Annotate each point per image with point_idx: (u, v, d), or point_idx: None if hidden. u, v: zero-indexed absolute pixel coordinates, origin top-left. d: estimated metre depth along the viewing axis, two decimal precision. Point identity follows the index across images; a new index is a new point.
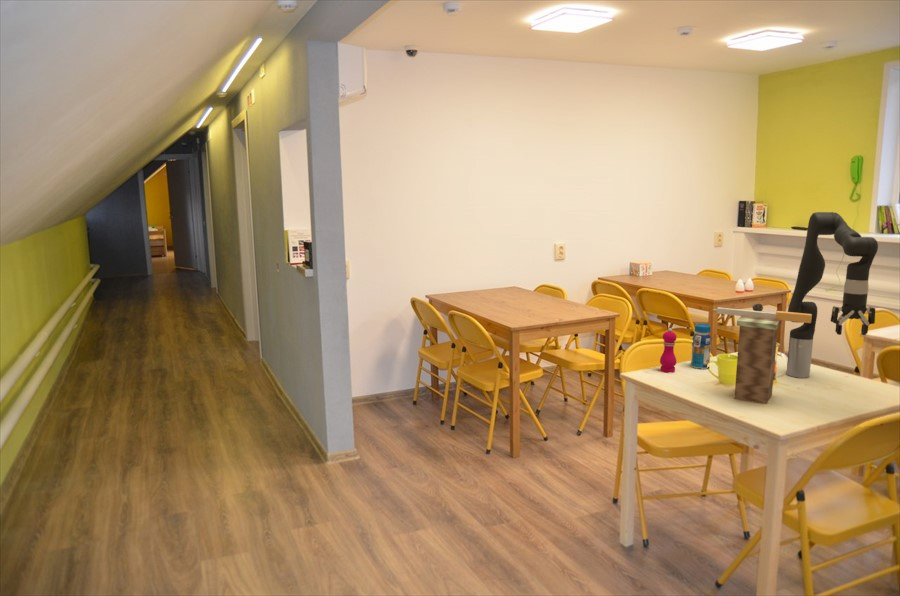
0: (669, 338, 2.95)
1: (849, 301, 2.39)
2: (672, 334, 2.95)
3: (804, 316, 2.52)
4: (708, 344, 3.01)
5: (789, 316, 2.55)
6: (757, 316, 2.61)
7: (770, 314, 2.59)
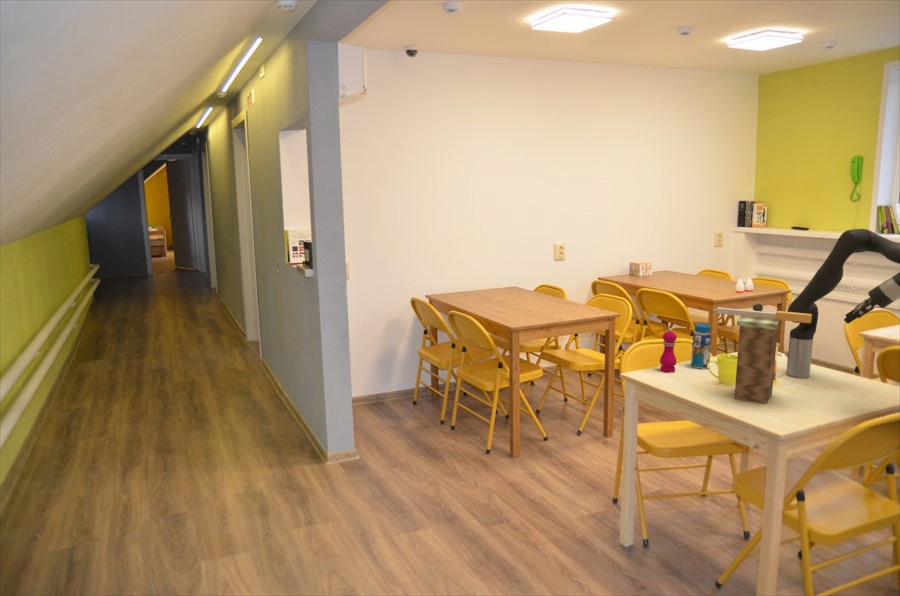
0: (669, 338, 2.95)
1: (883, 304, 2.36)
2: (672, 334, 2.95)
3: (804, 316, 2.52)
4: (708, 344, 3.01)
5: (789, 316, 2.55)
6: (757, 316, 2.61)
7: (770, 314, 2.59)
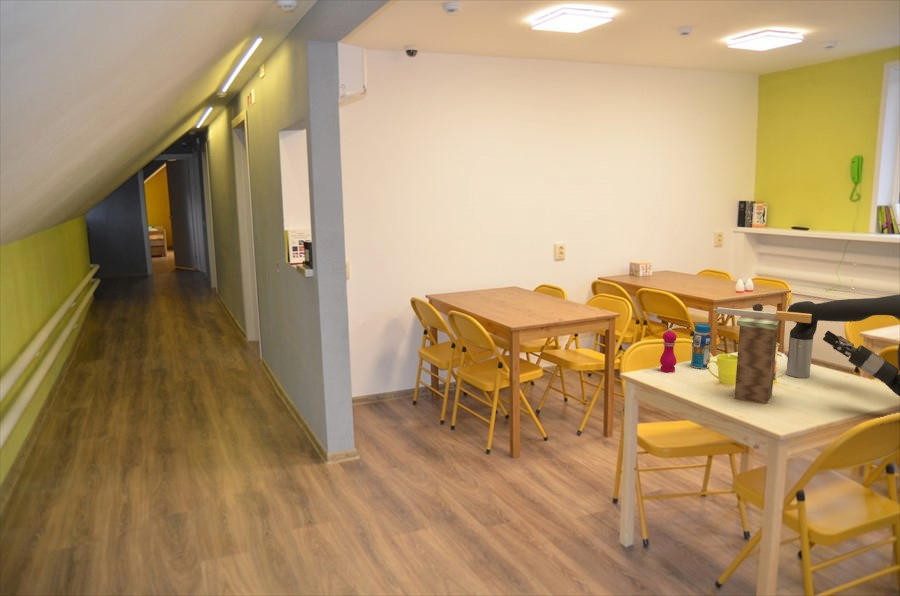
0: (669, 338, 2.95)
1: (853, 361, 2.44)
2: (672, 334, 2.95)
3: (804, 316, 2.52)
4: (708, 344, 3.01)
5: (789, 316, 2.55)
6: (757, 316, 2.61)
7: (770, 314, 2.59)
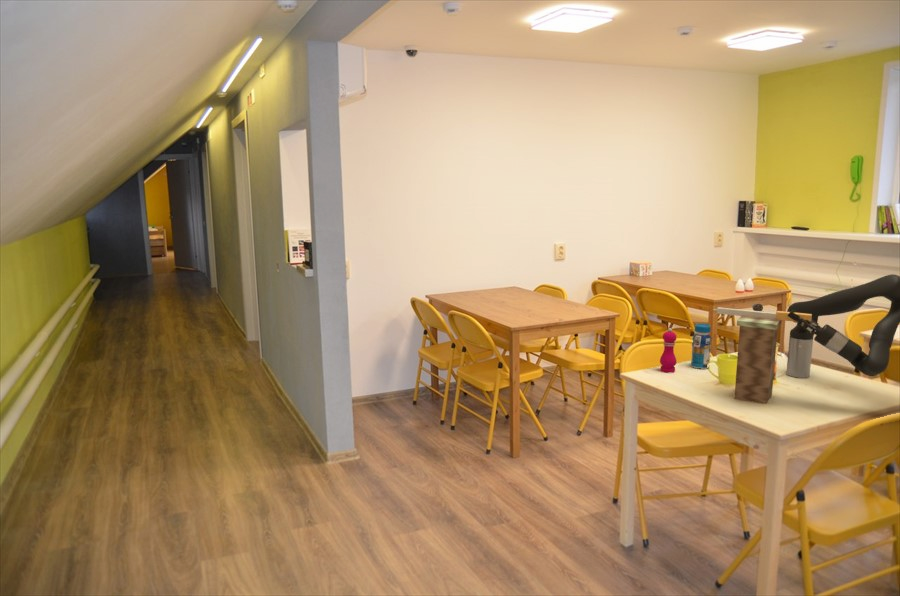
0: (669, 338, 2.95)
1: (818, 340, 2.49)
2: (672, 334, 2.95)
3: (804, 316, 2.52)
4: (708, 344, 3.01)
5: None
6: (757, 316, 2.61)
7: (770, 314, 2.59)
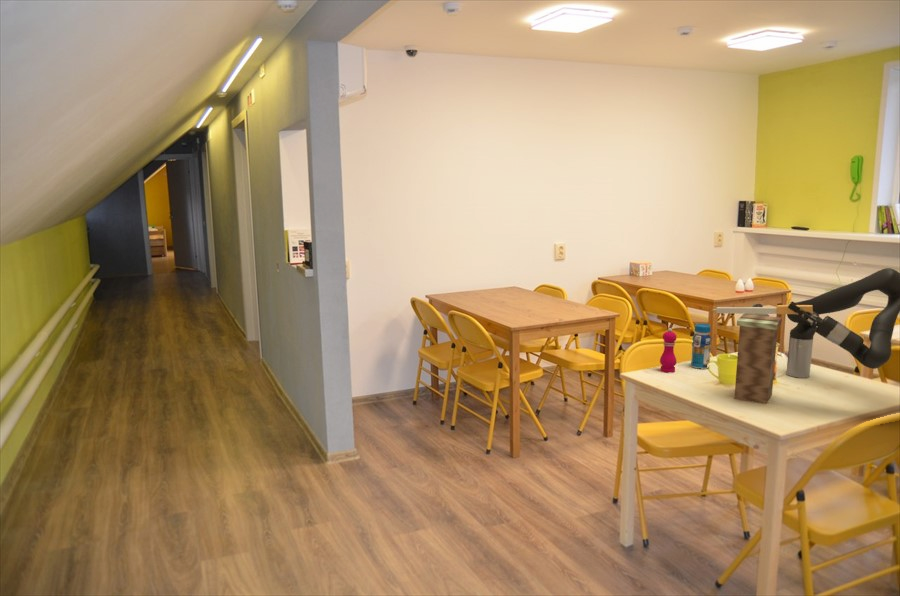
0: (669, 338, 2.95)
1: (819, 331, 2.45)
2: (672, 334, 2.95)
3: (805, 308, 2.48)
4: (708, 344, 3.01)
5: (790, 309, 2.51)
6: (757, 312, 2.57)
7: (770, 309, 2.55)
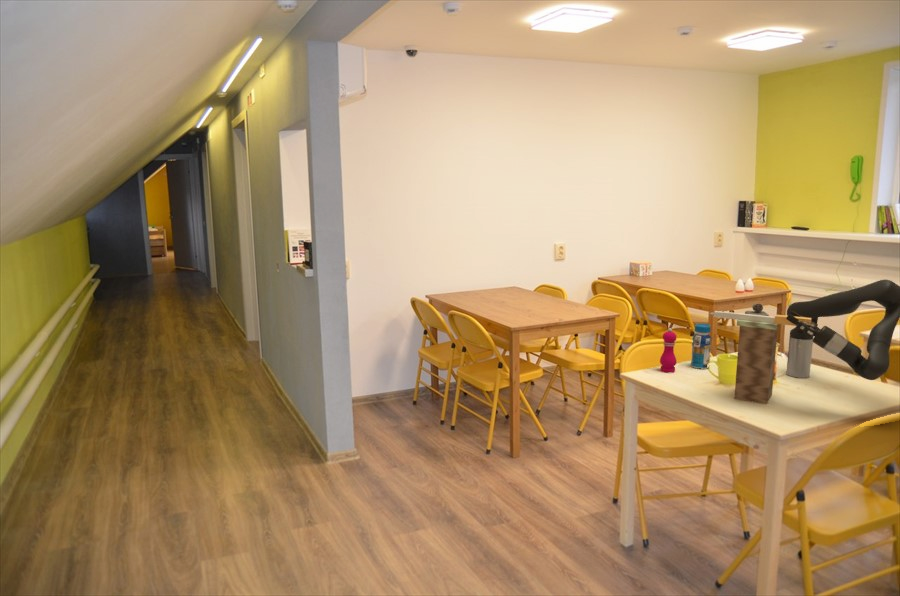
0: (669, 338, 2.95)
1: (817, 342, 2.42)
2: (672, 334, 2.95)
3: (803, 320, 2.45)
4: (708, 344, 3.01)
5: None
6: (755, 320, 2.54)
7: (768, 318, 2.52)
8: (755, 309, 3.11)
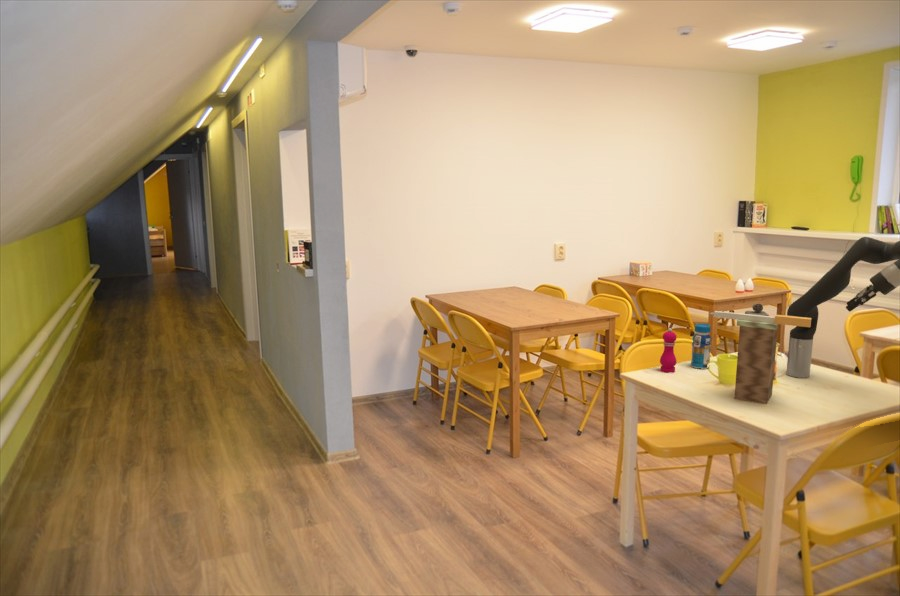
0: (669, 338, 2.95)
1: (885, 291, 2.30)
2: (672, 334, 2.95)
3: (803, 320, 2.45)
4: (708, 344, 3.01)
5: (788, 320, 2.48)
6: (755, 320, 2.54)
7: (768, 318, 2.52)
8: (755, 309, 3.11)
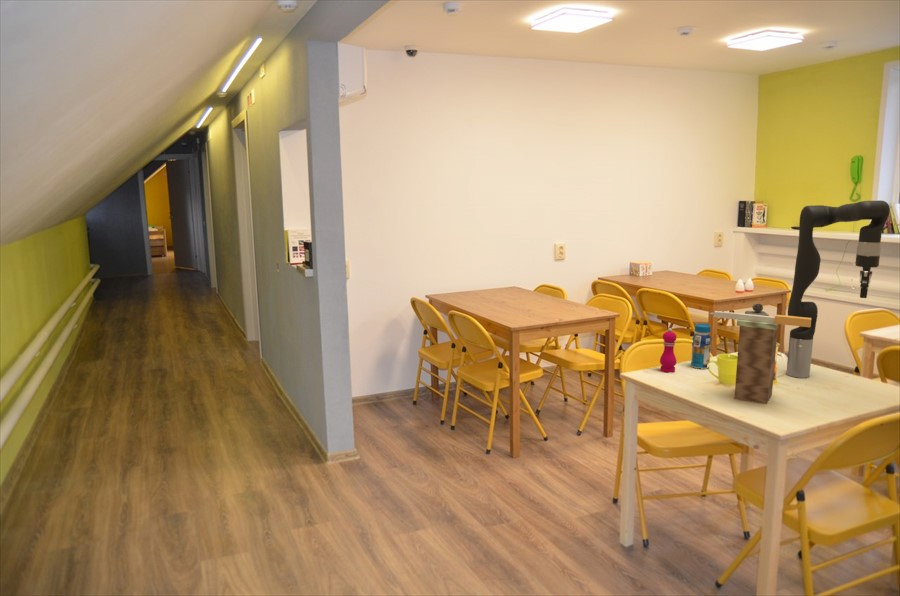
0: (669, 338, 2.95)
1: (874, 263, 2.45)
2: (672, 334, 2.95)
3: (803, 320, 2.45)
4: (708, 344, 3.01)
5: (788, 320, 2.48)
6: (755, 320, 2.54)
7: (768, 318, 2.52)
8: (755, 309, 3.11)
